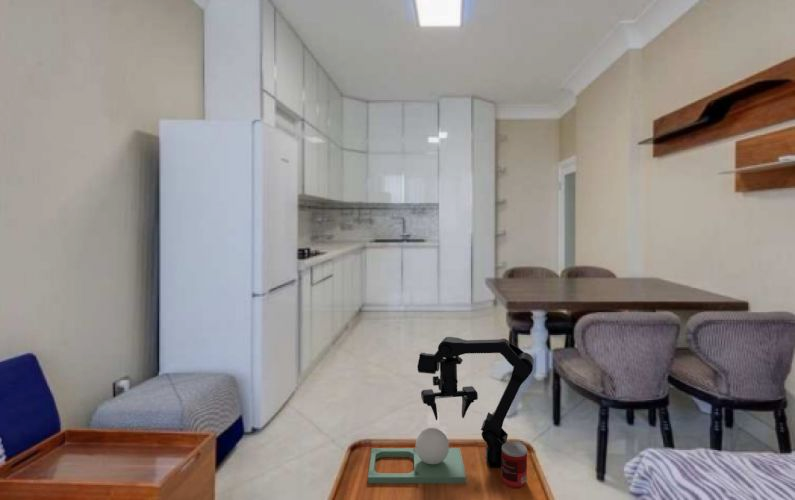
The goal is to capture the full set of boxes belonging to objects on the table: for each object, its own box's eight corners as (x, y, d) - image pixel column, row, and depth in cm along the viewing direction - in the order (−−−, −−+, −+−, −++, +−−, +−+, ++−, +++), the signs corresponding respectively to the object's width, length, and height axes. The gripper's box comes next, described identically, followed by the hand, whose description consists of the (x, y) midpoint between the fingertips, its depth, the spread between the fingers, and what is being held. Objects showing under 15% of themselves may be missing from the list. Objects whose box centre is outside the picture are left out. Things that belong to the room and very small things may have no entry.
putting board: (459, 453, 158) (459, 448, 158) (466, 483, 142) (466, 477, 141) (371, 453, 159) (371, 448, 159) (367, 483, 142) (367, 477, 142)
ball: (447, 452, 155) (447, 421, 154) (450, 471, 144) (450, 438, 143) (415, 452, 156) (415, 422, 155) (416, 471, 145) (415, 438, 144)
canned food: (524, 474, 146) (524, 441, 145) (528, 489, 138) (529, 455, 137) (499, 473, 147) (500, 440, 146) (503, 488, 139) (503, 454, 138)
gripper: (469, 365, 165) (469, 406, 166) (417, 368, 163) (419, 410, 164) (477, 376, 153) (478, 420, 155) (423, 380, 152) (424, 425, 153)
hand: (449, 418), depth 157 cm, fingers open, 9 cm apart
